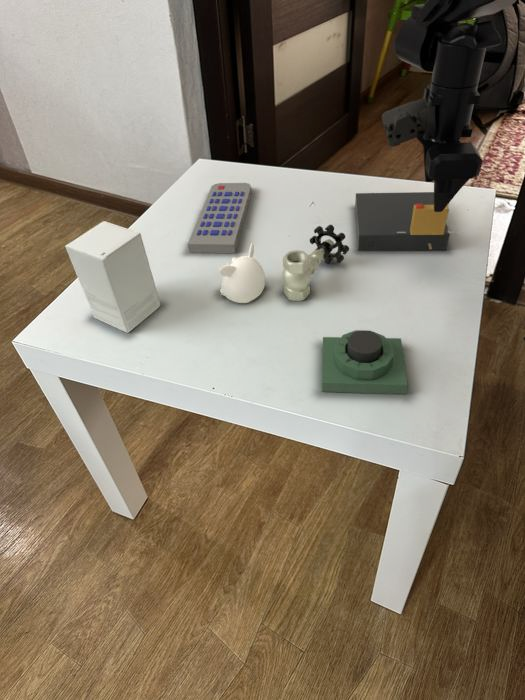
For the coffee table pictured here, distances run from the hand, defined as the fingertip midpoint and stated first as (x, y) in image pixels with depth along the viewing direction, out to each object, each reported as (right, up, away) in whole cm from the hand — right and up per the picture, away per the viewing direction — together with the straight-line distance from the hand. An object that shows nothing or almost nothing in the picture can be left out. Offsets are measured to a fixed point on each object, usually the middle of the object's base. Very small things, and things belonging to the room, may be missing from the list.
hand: (433, 195), depth 74 cm
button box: (-13, -25, -11) cm, 30 cm away
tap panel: (-2, -3, +10) cm, 11 cm away
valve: (-18, -12, +3) cm, 22 cm away
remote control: (-32, +1, +18) cm, 37 cm away
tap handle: (+1, -4, +5) cm, 6 cm away
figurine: (-28, -14, +2) cm, 32 cm away
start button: (-13, -23, -13) cm, 30 cm away
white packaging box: (-46, -17, 0) cm, 49 cm away
